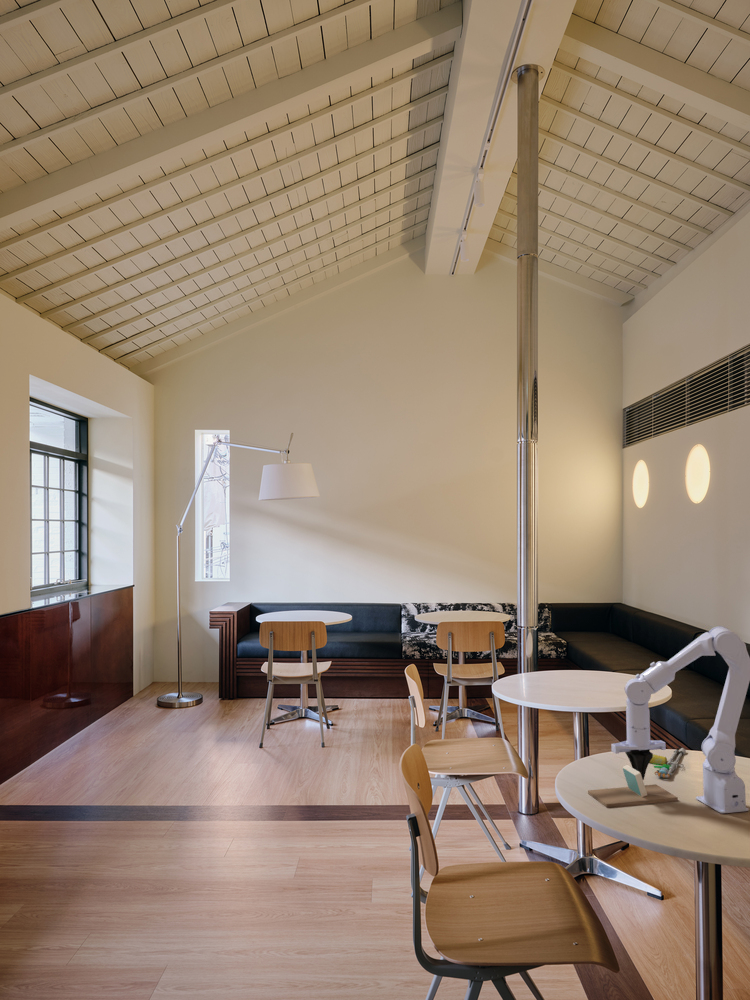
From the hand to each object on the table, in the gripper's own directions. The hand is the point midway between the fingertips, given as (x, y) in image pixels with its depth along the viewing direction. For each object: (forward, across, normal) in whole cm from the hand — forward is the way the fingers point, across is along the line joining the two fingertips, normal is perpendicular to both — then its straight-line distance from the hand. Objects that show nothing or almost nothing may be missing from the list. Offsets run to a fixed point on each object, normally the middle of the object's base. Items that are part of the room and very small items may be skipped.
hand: (639, 778), depth 172 cm
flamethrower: (+5, -22, -20) cm, 30 cm away
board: (+4, +2, 0) cm, 5 cm away
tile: (+3, 0, 0) cm, 3 cm away
